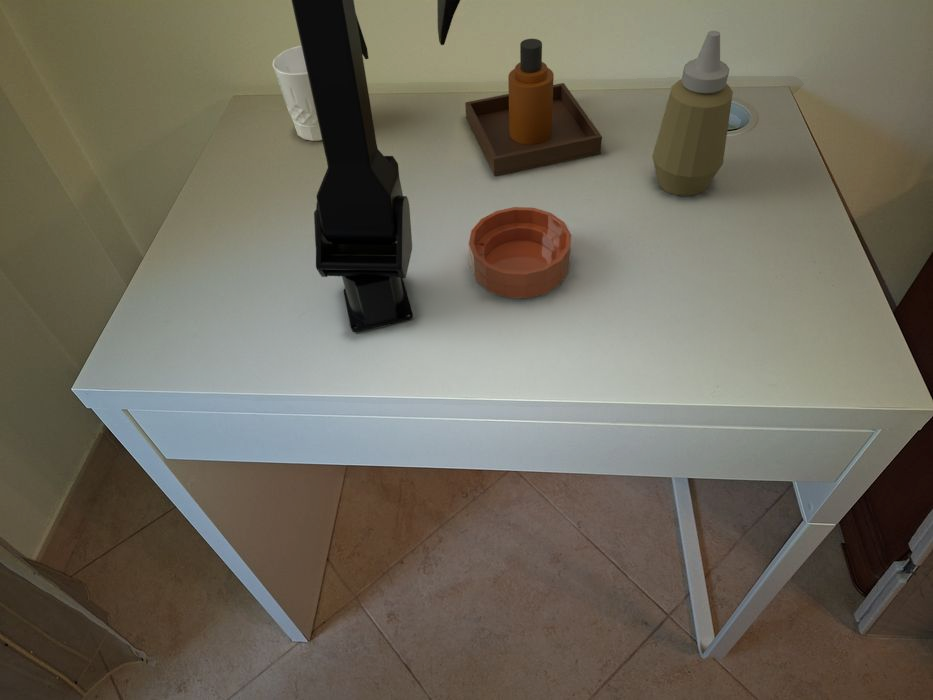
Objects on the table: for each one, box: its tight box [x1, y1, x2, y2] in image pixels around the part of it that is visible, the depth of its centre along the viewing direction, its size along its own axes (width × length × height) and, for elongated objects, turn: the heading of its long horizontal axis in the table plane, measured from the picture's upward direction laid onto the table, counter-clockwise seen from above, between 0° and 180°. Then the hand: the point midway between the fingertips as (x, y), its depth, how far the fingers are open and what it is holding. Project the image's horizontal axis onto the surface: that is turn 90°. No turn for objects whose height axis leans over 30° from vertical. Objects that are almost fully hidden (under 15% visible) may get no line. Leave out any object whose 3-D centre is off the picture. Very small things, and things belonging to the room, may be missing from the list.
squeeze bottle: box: [652, 30, 734, 197], centre depth 75 cm, size 8×8×18 cm
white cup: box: [272, 45, 322, 142], centre depth 91 cm, size 8×8×10 cm
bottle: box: [507, 38, 555, 145], centre depth 85 cm, size 6×6×12 cm
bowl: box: [468, 206, 572, 299], centre depth 72 cm, size 11×11×4 cm
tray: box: [464, 82, 603, 177], centre depth 89 cm, size 14×14×2 cm
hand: (404, 50), depth 81 cm, fingers open, 9 cm apart
